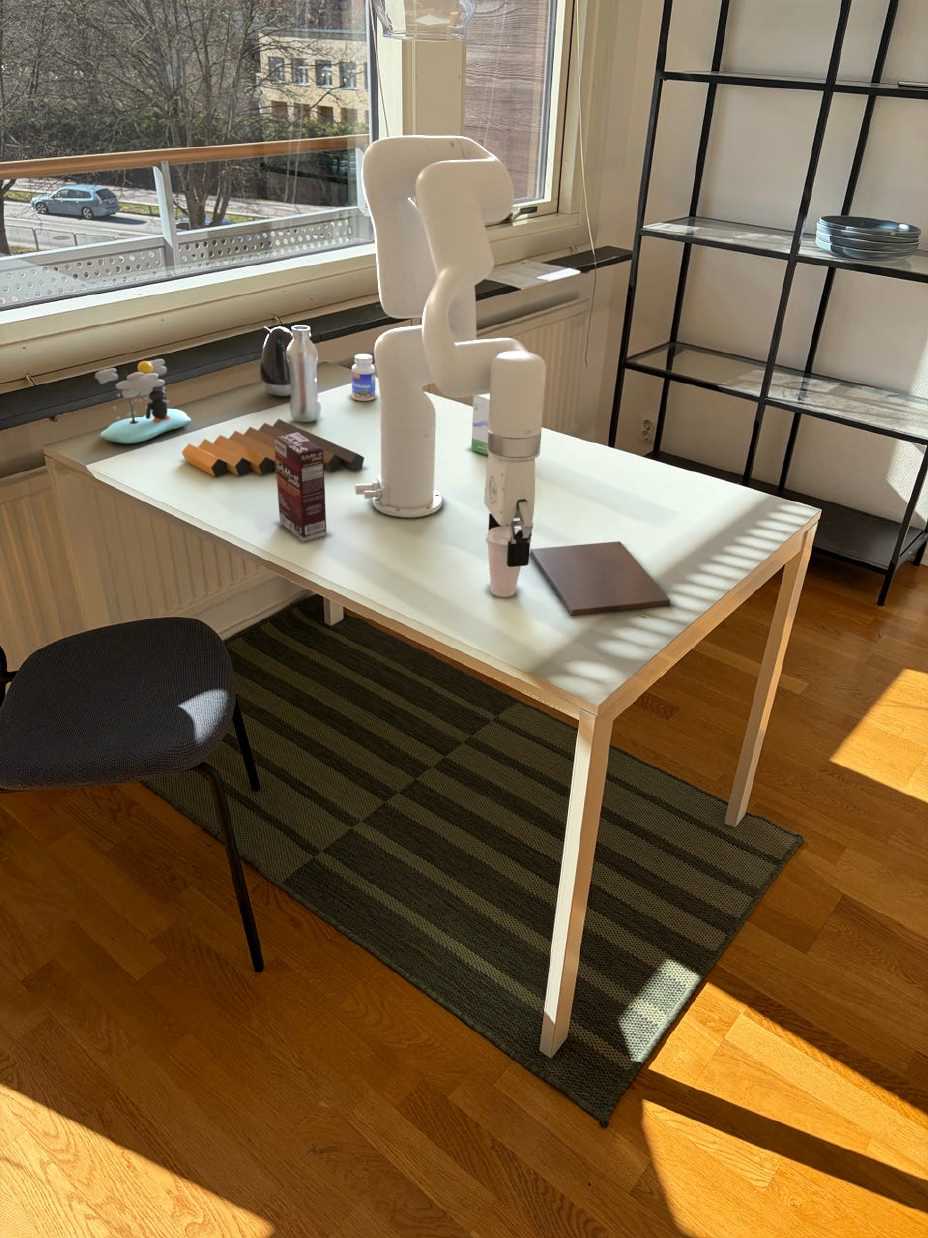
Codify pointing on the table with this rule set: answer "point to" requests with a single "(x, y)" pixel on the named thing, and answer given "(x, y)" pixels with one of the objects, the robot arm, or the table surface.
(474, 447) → the ink box
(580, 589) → the walnut board
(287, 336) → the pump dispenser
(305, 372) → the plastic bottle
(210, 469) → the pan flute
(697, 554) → the table surface
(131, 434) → the penguin figurine
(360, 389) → the pill bottle
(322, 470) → the supplement box
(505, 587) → the smoothie
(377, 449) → the table surface
